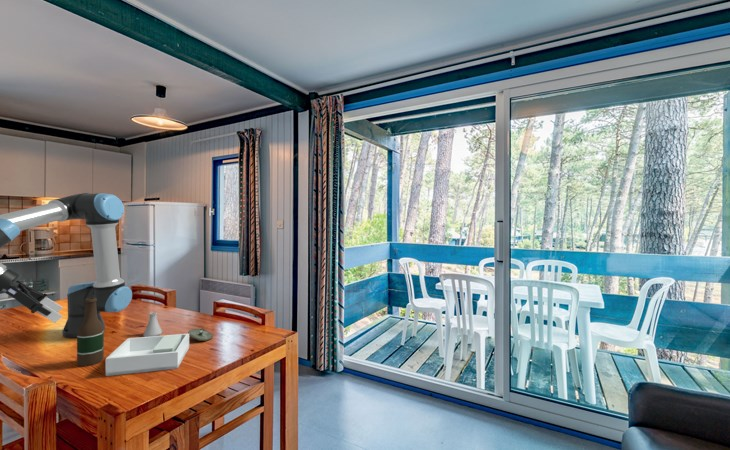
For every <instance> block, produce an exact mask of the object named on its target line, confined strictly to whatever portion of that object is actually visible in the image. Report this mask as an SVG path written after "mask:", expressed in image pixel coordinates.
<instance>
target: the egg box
mask: <svg viewBox="0 0 730 450" xmlns="http://www.w3.org/2000/svg"><path fill="white" fill-rule="evenodd" d="M172 335H173V336H164V335H163V336H164V337H163V338H162V339H161V340H160V342H159V343H158V344H157V345H156V347H155V348H154V349H153V353H163V352H174V351H176V350H177V348H178V346H179V345H180V343H181V337H182V335H176V334H172Z"/></svg>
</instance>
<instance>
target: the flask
mask: <svg viewBox="0 0 730 450" xmlns="http://www.w3.org/2000/svg"><path fill="white" fill-rule="evenodd" d="M148 315H149V316H148V317H149V320H148V323H147V325H146V328H145V330H144V333H143V335H142V337H151V336H161V334H163V329H162V328H161V325H160V324H159V321H158V316H157V315H158V312H154V311H153V312H150V313H148Z"/></svg>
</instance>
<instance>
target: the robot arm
mask: <svg viewBox="0 0 730 450" xmlns="http://www.w3.org/2000/svg"><path fill="white" fill-rule="evenodd" d="M124 213H125V206H124V203H123V202H122V200H121V198H118V196H117V195H115V194H113V193H111V194H110V193H102V192H101V193H76V194H72V195H67V196H64V197H60V198H56V199H52V200H50V201H48V203H46V204H42V205H41V204H40V205H37V206H33V207H28V208H24V209H19V210H16V211H11V212H6V213H3V214H0V249H1V248H3V247H4V246H5V245H7V244H9V243H10V242H12V241H13V240H14V239H15V238H17V237H18V236H19V235H20V234H21V231H25V230H29V229H31V228H35V227H39V226H42V225H46V224H50V223H53V222H54V223H55V222H59V223H61V222H66V221H70V220H85V225H86V226H87V227H88V228H90V231H91V233H90V234H91V242H92V251H93V262H94V269H95V278H96V280H94V281H90V282H89V281H88V282H82V283H76V284H72V285H70V286H69V287H68V288H67V295H66V296H67V319H66V322H65V323H64V327H63V330H62V337H63V338H70V339H73V338H74V339H75V338H76V339H77V331H78V329H79V326H80V325H81V324H82V322H83V320H84V312H85V303H84V301H85V299H87V298H96V299H97V301H96V308H97V317H98V319H99V320H100V321H101V322H102V324H103V329H104V331H105V329H106V324H105V321H104V319H103V316H102V314H101V312H103V313H119V312H121V311H124V310H125V309H126V308H127V307H128V306H129V304H130V303H131V301H132V299H133V291H132V289H131V288H130V287H128V286H127V285H126V283H125V279H123V278H121V273H120V264H119V263H120V261H119V254H118V253H119V252H118V243H117V232H116V226H117V225H119V223H120V221H119V220H120V219H121V218H122V217H123V215H124ZM19 277H20V274H19V273H17V272H15V271H14V270H12V269H11V268H7V265H5V264H3V263H2V262H0V292H2V290H6V291H5V294H6V295H8V296H10V297H11V298H12V299H14V300H15V301H17V302H18V303H20V304H21V305H23V306H24V307H25V308H27V309H28V310H29V311H30V313H31V314H33V315H34V314H35V313H38V314H39V315H40V316H43V317H44V318H46V319H47V320H50V322H53V323H55V324H56V323H57V322H58V321H60V319H62V318H63V315H62V314H61V313H60V311H61V310H62V309H64V307H63V306H62V305H60V304H59V303H57V302H55V301H54V300H52V299H50V298H48V294H47V293H46V292H45V293H43V292H40V291H38V290H37V289H34V288H33V287H31V286H29V285H27V284H25V283H23V282H21V281H20V280H18V278H19Z"/></svg>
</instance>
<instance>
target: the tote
mask: <svg viewBox="0 0 730 450" xmlns="http://www.w3.org/2000/svg"><path fill="white" fill-rule="evenodd" d="M173 335H174V334H167V335H157V336H151V337H146V336H140V337H128V338H127V339H125V340H124V341H123V342H122V343H121V344H120V345H118V346H117V348H116V349H115V350H113V351H112V352H111V353H110V354H109V355H108V356H107V357H106V358H105V377H110V376H120V375H121V376H122V375H129V374H139V373H141V374H142V373H149V372H156V371H157V372H158V371H168V370H177V369H178V368H179V367H180V366H181V364H182V362H183V360H184V358H185V356H186V354H187V352H188V351H189V349H190V336H189V334H188V333H177V334H176V333H175V335H182V337H181V343H180V345H179V346H178V348H177V350H176V351H174V352H163V353H153V349H154V348H155V347H156V345H157V344H158V343H159V342H160V340H161V339H162V338H163V337H164V336H173Z"/></svg>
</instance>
